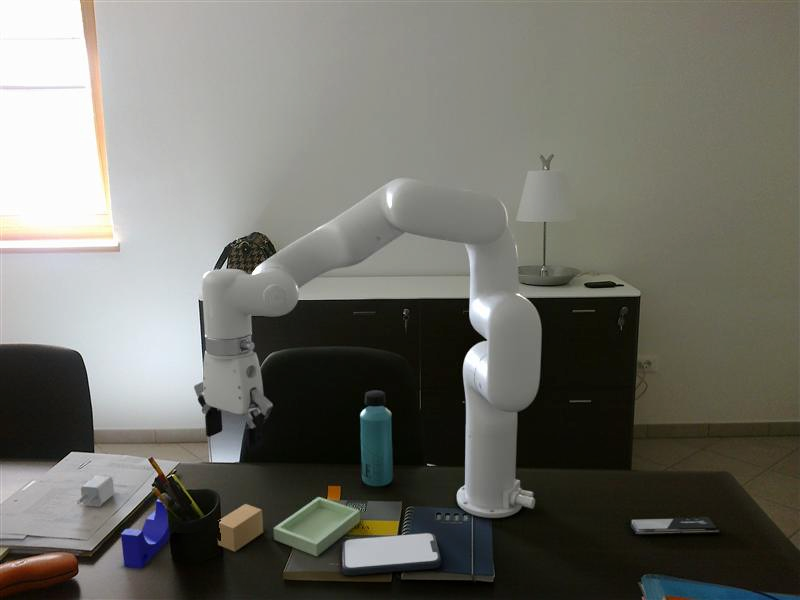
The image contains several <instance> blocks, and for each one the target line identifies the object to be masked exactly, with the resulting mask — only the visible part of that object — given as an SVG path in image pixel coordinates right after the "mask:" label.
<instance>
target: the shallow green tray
mask: <svg viewBox="0 0 800 600" xmlns="http://www.w3.org/2000/svg"><path fill="white" fill-rule="evenodd" d="M359 523H361V510H360V509H357V508H353V507H350V506H347V505H346V504H345V505H344V504H342V503H338V502H335V501H332V500H329V499H328V498H327V499H326V498H324V497H320V496H317V497H316V498H315V499H313V500H312V501H311V502H309V503H308V504H306V505H305V506H303V507H302V508H300V509H298V510H297V511H296V512H294V513H293V514H292V515H290V516H289V517H287V518H286V519H284V520H283V521H281V522H280V523H279V524H277V525H276V526H274V527H273V540H274V541H276V542H279V543H281V544H283V545H286V546H289V547H292V548H294V549H296V550H299V551H301V552H305V553H307V554H310V555H312V556H315V557H318V556H319V555H321V554H322V553H324V551H326V550H327V549H328V548H329V547H331V546H332V545H333V544H334V543H336V542H337V541H338V540H339V539H341V538H343V536H344V535H345V534H347V533H349V531H351V530H352V529H353V528H354V527H356V526H357V525H358V524H359Z"/></svg>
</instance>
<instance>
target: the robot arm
mask: <svg viewBox="0 0 800 600" xmlns="http://www.w3.org/2000/svg"><path fill="white" fill-rule="evenodd" d="M508 218H509V217H508V212H507V209H506V206H505V205H504V203H503V202H502V200H500V199H499V197H497V196H495V195H493V194H492V193H491V194H490V193H487V192H483V191H477V190H474V189H470V188H469V189H468V188H457V187H453V186H452V187H451V186H447V185H441V184H438V183H437V184H436V183H432V182H428V181H424V180H421V179H415V178H411V177H399V178H394V179H393V180H391V181H389V182H387V183H385V184H384V185H383V186H381V187H379V188H378V189H376V190H375V191H373V192H372V193H370V194H369V195H367V196H366V197H365V198H363V199H362V200H360V201H358V202H357V203H356V204H354V205H353V206H350V208H348V209H346V210H345V211H343V212H341V213H340V214H339V215H337V216H335V217H334V218H333V219H331V220H330V221H327V222H326V223H324V224H322V225H321V226H318V227H317V228H316V229H314V230H313V231H311V232H309V233H307V234H305V235H303V236H302V237H299V238H298V239H296V240H295V241H293V242H291V243H289V244H288V245H286V246H285V247H283V248H282V249H281V250H279V251H278V252H276V253H274V254H273V255H272V256H269V258H267V259H265V260H264V261H263V262H261V263H260V264H259V265H258V266H256V268H255V269H254V270H253V272H252V273H251V274H248V273H247V272H246V271H244V270H242V269H238V268H220V269H219V268H218V269H213V270H209V271H207V272H205V273H204V275H203V276H202V278H201V292H202V293H201V294H202V307H203V309H202V310H203V324H204V337H205V338H204V339H205V341H204V342H205V351H204V356H203V367H202V382H199V383H197V384H194V386H193V389H194V391H195V394H196V397H197V401H198V403H199V405H200V407H201V412H202V414H203V415H204V421H205V422H204V423H205V424H204V425H205V435H206V437H208V438H210V437H213V436H215V435H217V434H220V433H222V432H223V416H222V415H223V414H222V411H225V412H228V413H232V414H236V415H238V416H242V417H243V419H244V421H245V422H246V424H247V425H248V426H247V427H246V428H245V432H246V433H245V435H246V449H247V450H248V451H253V450H255V449H257V448H259V447H261V446H262V445H263V444H264V431H263V427H264V426H263V424H264V423H266V421H267V420H268V419H269V418H270V416H271V415H270V414H271V412H272V410H273V407H274V405H273V402H272V401H270V400H269V399H268V398H267V397H266V396H265V395H264V385H263V378H262V372H261V367H260V361H259V358H258V355H257V352H255V351H254V349H255V347H256V345H255V343H254V342H253V327H252V316H261V317H262V316H263V317H273V318H274V317H282V316H284V315H287V314H289V313H290V312H291V311H293V310H294V309H295V307H296V306H297V304H298V302H299V298H300V294H299V293H300V292H299V289H300V288H302V287H303V286H304V285H307V283H310V282H311V281H313V280H315V279H316V278H317V277H319V276H322V275H323V274H325V273H328V272H331V271H333V270H337V269H342V268H350V267H353V266H356V265H359V264H361V263H362V262H365V260H367V259H368V258H369V257H371V256H373V255H374V254H376V253H377V252H378V251H380V250H381V249H383V248H384V247H386V246H387V245H389V244H390V243H391V242H393V241H395V240H397V239H398V238H399V237H401V236H402V235H404V234H405V233H407V234H411V235H413V236H419V237H424V238H429V239H434V240H441V241H447V242H453V243H460V244H464V246H465V248H466V251H467V254H468V261H469V275H470V276H469V309H468V312H469V321H470V324H471V325H472V327H473V329H474V330H475V331H476V332H477V333H478V334H479V335H481V336H482V337H483V338H484V339H486V340H483V341H480V342H478V343H476V344H475V345H473V346H472V347H471V348H470V349H469V350H468V352H467V353H466V355H465V357H464V360H463V366H462V377H463V378H462V379H463V387H464V396H465V397H464V398H465V450H464V452H465V453H464V454H465V458H464V485H463V486H461V487H460V488H459V489H458V490H457V493H456V503H457V505H458V506H459V507H460V508H461V509H462V510H463V511H465V512H466V513H468V514H470V515H473V516H475V517H480V518H486V519H501V518H506V517H510V516H512V515H515V514H516V513H518V512H519V511H520V510H521V509H522V508H523V507H524V508H528V509H531V510H532V509H534V508H535V504H536V499H535V498H534V492H533V491H530V490H524V489H523V488H522V487H521V480H520V479H516V470H517V469H516V468H517V466H516V465H517V441H518V440H517V438H518V437H517V435H518V413H519V412H521V411H523V410H526V409H527V408H528V407H529V406H530V405H531V404H532V403H533V402H534V400H535V398H536V396H537V394H538V391H539V388H540V381H541V380H540V379H541V359H542V335H543V334H542V331H543V330H542V322H541V318H540V315H539V312H538V310H537V308H536V306H534V304H533V303H532V302H531V301H530V300H529V299H527V298H526V297H524V296H523V295H520V290H519V255H518V248H517V244H516V240H515V237H514V235H513V232H512V230H511V228H510V226H509V225H508V220H509V219H508ZM251 413H253V415H254V418H253V415H252V414H251Z"/></svg>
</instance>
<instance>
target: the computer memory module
mask: <svg viewBox="0 0 800 600" xmlns="http://www.w3.org/2000/svg"><path fill="white" fill-rule="evenodd" d="M629 525H630V527H631V529H632V531H633V532H634V534H635V535H636V536H645V535H646V536H647V535H648V536H652V535H680V534H681V535H688V534H689V535H693V534H721V531H720V529H719V528H718V527H717V526H716V525H715V524H714V522H713V521H712V520H711V519H710V518H709V517H708V516H699V517H698V518H697V517H690V516H689V519H688V517H673V518H653V519H652V518H650V519H649V518H648V519H646V518H645V519H631V523H630V524H629Z"/></svg>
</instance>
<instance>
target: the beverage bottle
mask: <svg viewBox="0 0 800 600" xmlns="http://www.w3.org/2000/svg"><path fill="white" fill-rule="evenodd" d="M386 403H387V400H386V393H385V392H384V391H382V390H377V389H375V390H369V391H367V392H365V394H364V405H366V406H367V407H365V408H364V409H362V411H361V412H360V413H359V419H360V437H359V438H360V452H361V455H360V457H361V468H360V469H361V470H360V474H361V478H362V482H363V483H364V484H365V485H367V486H372V487H382V486H386V485H388V484H390V483H391V482H392V481H393V478H394V460H393V458H394V455H393V437H392V434H393V433H392V412H391V410H389V409H388V408H387V407H385V406H384V405H386Z"/></svg>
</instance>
